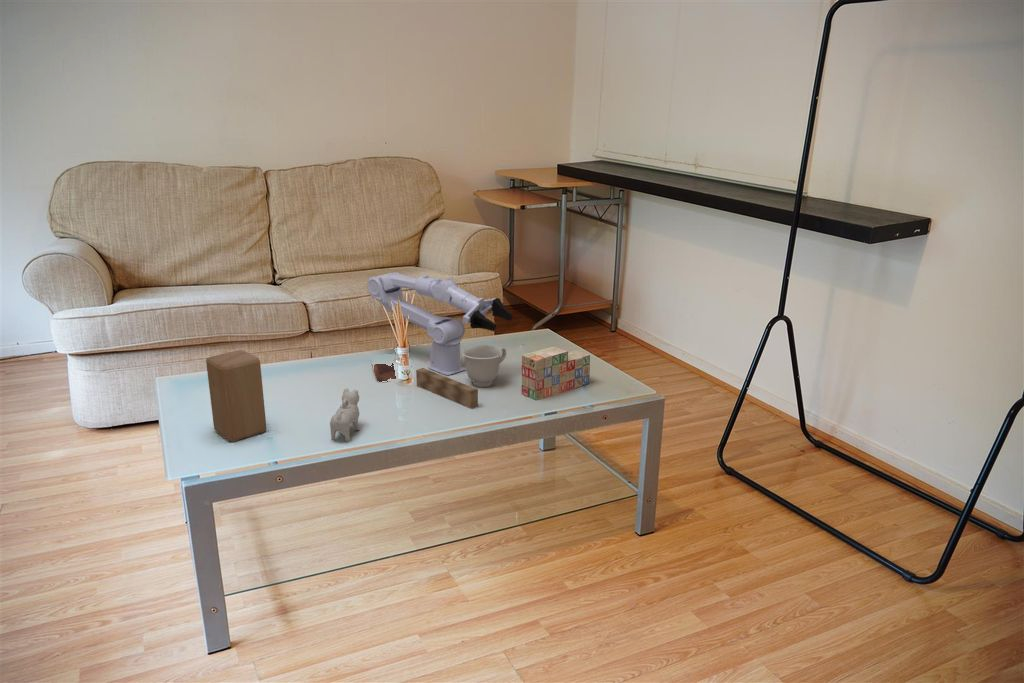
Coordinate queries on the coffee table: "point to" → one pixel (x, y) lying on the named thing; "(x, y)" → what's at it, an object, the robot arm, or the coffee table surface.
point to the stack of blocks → (553, 372)
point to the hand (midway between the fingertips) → (503, 322)
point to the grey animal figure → (346, 415)
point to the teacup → (483, 363)
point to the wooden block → (236, 394)
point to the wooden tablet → (384, 372)
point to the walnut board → (447, 388)
